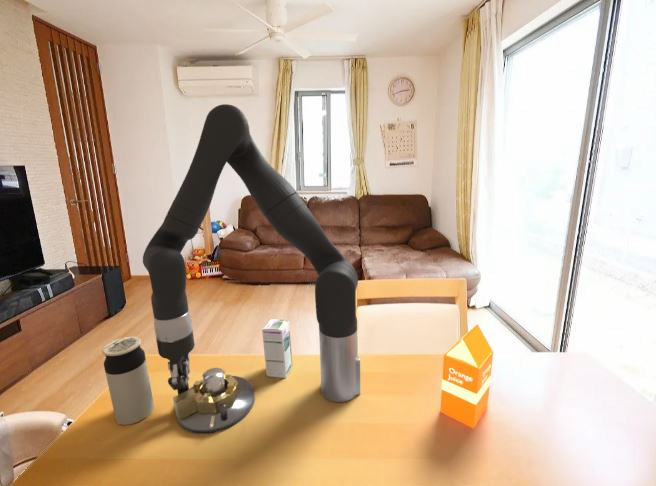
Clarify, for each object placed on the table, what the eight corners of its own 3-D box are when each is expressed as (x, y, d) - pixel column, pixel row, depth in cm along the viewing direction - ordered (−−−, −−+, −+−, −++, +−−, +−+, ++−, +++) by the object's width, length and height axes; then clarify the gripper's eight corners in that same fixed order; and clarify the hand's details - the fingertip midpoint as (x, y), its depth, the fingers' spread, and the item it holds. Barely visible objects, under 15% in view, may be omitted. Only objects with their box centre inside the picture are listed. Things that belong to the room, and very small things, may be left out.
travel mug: (161, 406, 81) (150, 339, 76) (130, 430, 74) (116, 358, 69) (139, 397, 84) (127, 333, 80) (108, 419, 77) (92, 350, 73)
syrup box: (286, 378, 90) (283, 329, 86) (265, 376, 91) (261, 328, 87) (292, 366, 95) (290, 319, 91) (273, 364, 96) (269, 318, 93)
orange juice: (488, 406, 78) (496, 328, 73) (474, 429, 71) (482, 345, 67) (455, 391, 83) (460, 318, 78) (439, 411, 77) (444, 332, 72)
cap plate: (253, 375, 91) (251, 347, 89) (255, 424, 74) (252, 391, 72) (183, 387, 87) (179, 358, 85) (168, 442, 70) (162, 407, 68)
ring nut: (226, 379, 87) (225, 364, 86) (244, 399, 80) (243, 382, 79) (170, 405, 78) (167, 389, 77) (184, 430, 71) (182, 412, 70)
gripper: (162, 320, 80) (172, 382, 84) (148, 350, 68) (160, 421, 72) (196, 316, 82) (204, 377, 86) (187, 344, 69) (197, 414, 74)
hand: (184, 397), depth 79 cm, fingers closed
